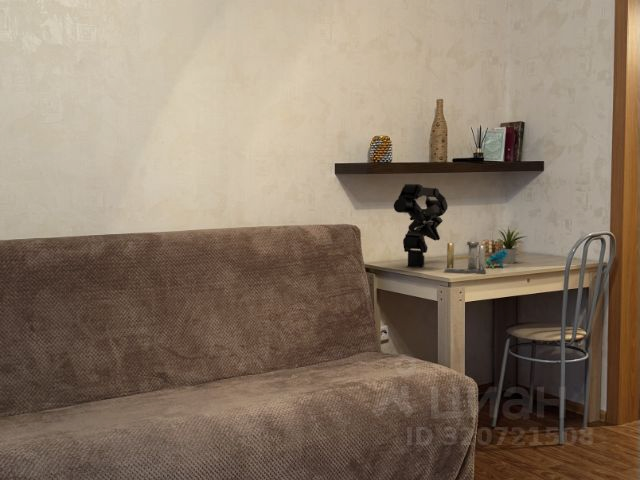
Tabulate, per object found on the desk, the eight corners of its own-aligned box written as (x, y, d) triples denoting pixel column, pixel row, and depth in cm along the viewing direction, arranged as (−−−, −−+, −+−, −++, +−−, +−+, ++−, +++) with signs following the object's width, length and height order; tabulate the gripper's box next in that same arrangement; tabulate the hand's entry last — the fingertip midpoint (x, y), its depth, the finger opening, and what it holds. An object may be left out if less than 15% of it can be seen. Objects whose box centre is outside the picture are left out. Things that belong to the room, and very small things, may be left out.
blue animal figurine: (499, 261, 339) (509, 246, 332) (507, 271, 336) (516, 257, 329) (479, 266, 334) (488, 251, 327) (486, 277, 331) (496, 262, 324)
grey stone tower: (479, 273, 311) (479, 245, 310) (465, 268, 329) (465, 241, 328) (490, 273, 312) (491, 245, 311) (476, 267, 329) (476, 241, 328)
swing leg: (466, 265, 326) (467, 241, 325) (471, 265, 324) (471, 241, 323) (445, 267, 318) (446, 243, 317) (450, 268, 316) (450, 243, 315)
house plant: (510, 265, 338) (511, 227, 337) (485, 262, 349) (486, 226, 348) (530, 263, 348) (531, 226, 346) (505, 260, 358) (506, 224, 357)
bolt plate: (444, 272, 314) (444, 269, 314) (445, 270, 320) (445, 268, 320) (484, 274, 310) (484, 271, 310) (485, 272, 316) (485, 269, 316)
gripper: (415, 199, 315) (438, 227, 309) (439, 198, 330) (461, 225, 324) (398, 217, 321) (421, 246, 315) (422, 215, 335) (444, 243, 329)
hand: (437, 239), depth 320 cm, fingers closed
